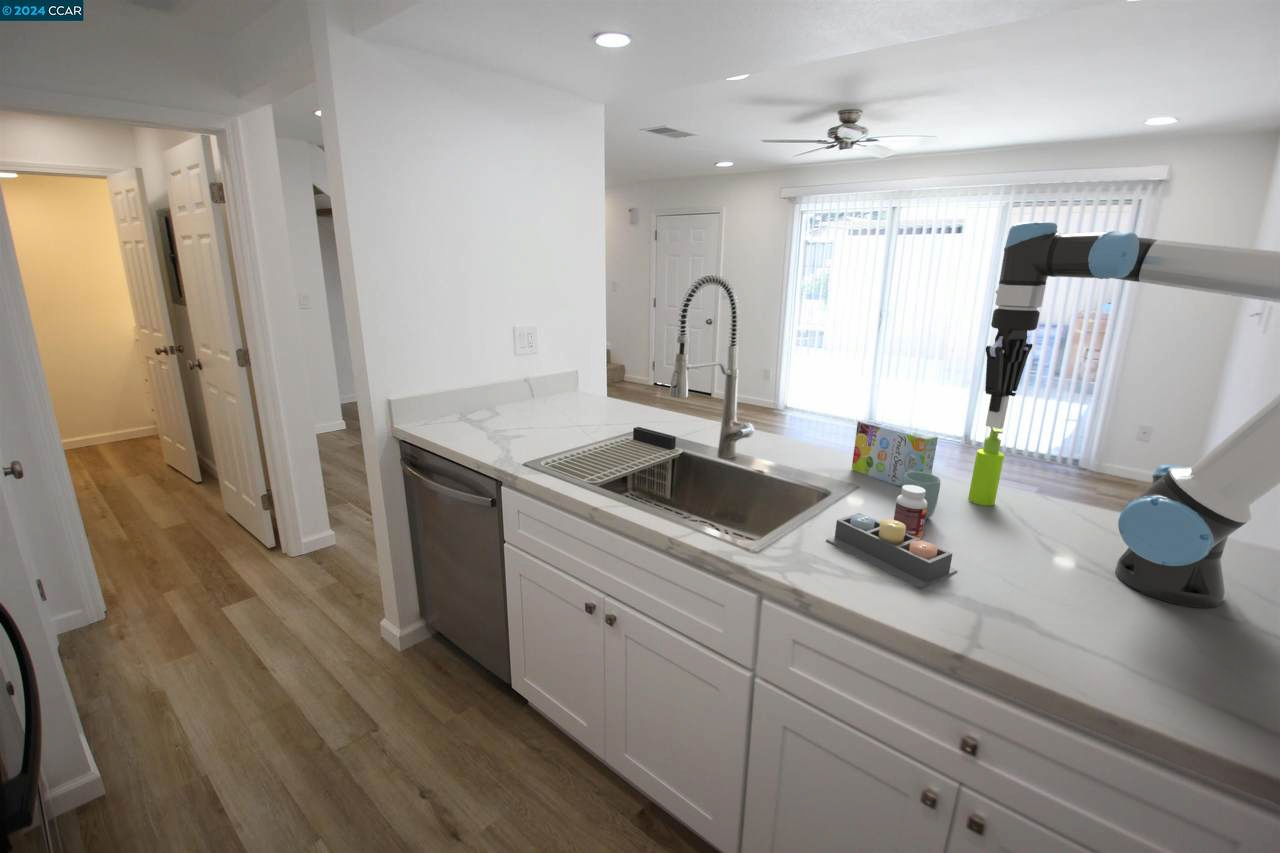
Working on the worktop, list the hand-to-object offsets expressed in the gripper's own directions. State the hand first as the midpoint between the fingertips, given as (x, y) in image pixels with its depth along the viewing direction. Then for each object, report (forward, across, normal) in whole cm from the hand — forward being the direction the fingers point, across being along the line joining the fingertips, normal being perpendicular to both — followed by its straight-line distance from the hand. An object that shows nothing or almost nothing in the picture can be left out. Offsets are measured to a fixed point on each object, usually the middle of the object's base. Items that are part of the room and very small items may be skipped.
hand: (994, 426), depth 116 cm
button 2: (+24, +20, -6) cm, 32 cm away
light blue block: (+26, +20, -13) cm, 35 cm away
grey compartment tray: (+26, +20, -6) cm, 34 cm away
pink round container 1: (+26, +20, +1) cm, 33 cm away
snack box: (+27, -19, -34) cm, 47 cm away
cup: (+27, -3, -15) cm, 31 cm away
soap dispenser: (+27, -26, -12) cm, 39 cm away
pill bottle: (+27, +8, -10) cm, 30 cm away
